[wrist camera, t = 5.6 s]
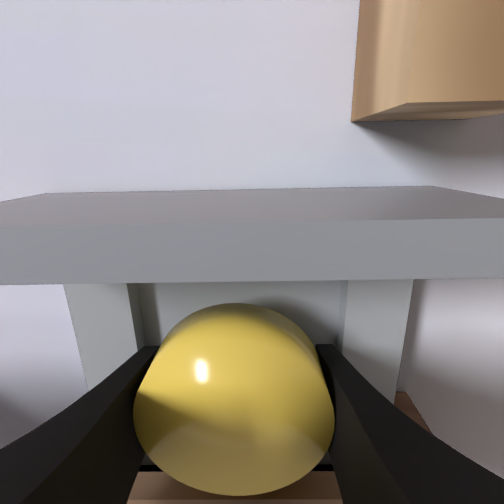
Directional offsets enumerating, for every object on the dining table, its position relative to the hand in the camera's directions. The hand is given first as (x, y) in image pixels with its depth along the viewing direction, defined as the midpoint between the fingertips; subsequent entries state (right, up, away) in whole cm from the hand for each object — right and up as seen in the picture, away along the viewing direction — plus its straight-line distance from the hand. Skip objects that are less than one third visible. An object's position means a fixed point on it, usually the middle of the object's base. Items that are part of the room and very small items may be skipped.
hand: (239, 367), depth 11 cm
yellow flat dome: (0, 0, -1) cm, 1 cm away
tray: (0, +1, +2) cm, 2 cm away
